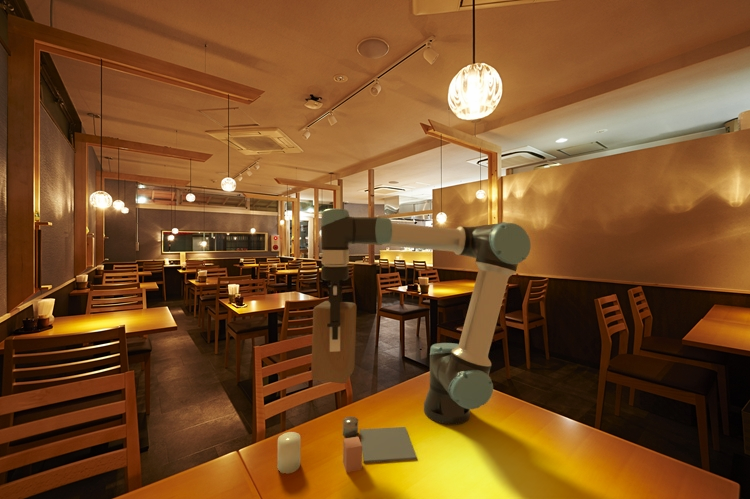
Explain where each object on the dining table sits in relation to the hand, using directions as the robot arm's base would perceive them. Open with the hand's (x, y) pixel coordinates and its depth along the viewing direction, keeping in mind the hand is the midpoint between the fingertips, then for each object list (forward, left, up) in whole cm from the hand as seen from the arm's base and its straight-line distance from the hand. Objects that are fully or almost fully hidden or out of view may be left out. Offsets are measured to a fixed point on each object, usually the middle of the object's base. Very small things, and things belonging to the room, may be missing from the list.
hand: (335, 343), depth 89 cm
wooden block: (0, 0, -9) cm, 9 cm away
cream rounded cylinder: (+11, +7, -29) cm, 32 cm away
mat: (-15, +1, -29) cm, 32 cm away
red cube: (-5, +8, -29) cm, 30 cm away
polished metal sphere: (-5, -5, -29) cm, 30 cm away
